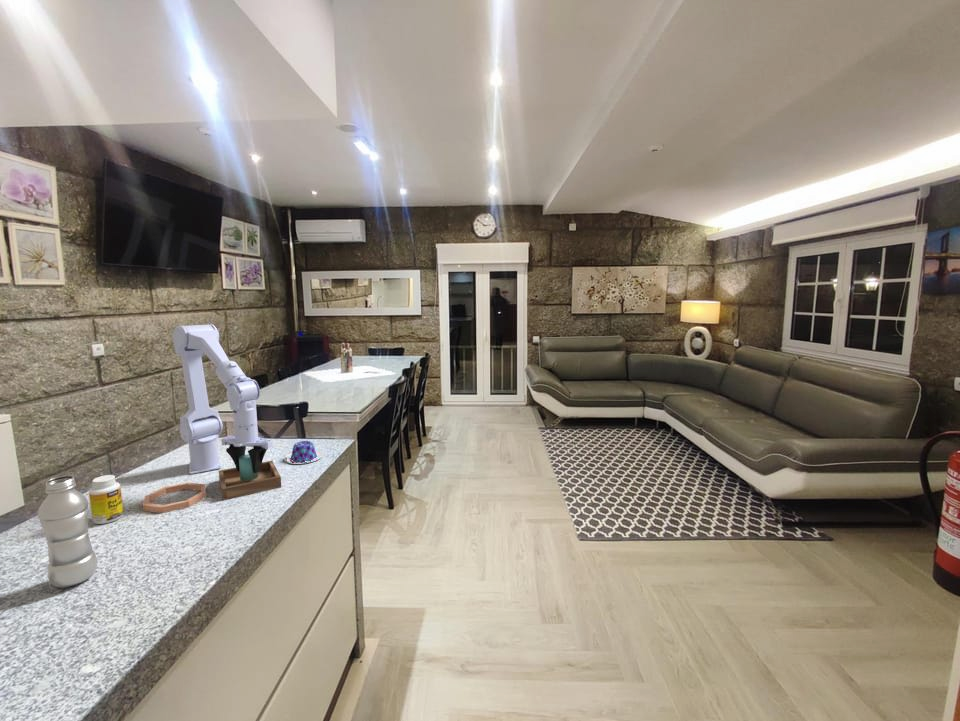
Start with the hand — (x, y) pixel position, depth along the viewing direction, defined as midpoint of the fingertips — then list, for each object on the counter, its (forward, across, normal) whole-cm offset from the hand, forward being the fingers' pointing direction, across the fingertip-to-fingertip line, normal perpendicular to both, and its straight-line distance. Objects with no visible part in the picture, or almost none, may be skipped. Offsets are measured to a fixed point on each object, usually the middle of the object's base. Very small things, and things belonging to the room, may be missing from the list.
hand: (248, 470), depth 119 cm
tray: (+4, 0, 0) cm, 4 cm away
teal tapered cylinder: (+2, 0, 0) cm, 2 cm away
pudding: (+4, +4, +21) cm, 21 cm away
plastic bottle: (+4, -3, -42) cm, 43 cm away
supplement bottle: (+4, -19, -23) cm, 30 cm away
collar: (+4, -12, -12) cm, 17 cm away
